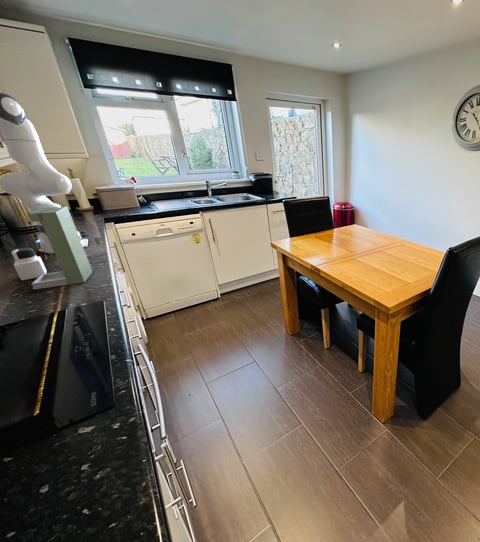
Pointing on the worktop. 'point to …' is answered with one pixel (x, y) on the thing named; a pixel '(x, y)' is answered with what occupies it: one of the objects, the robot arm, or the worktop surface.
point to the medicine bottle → (28, 264)
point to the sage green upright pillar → (62, 248)
